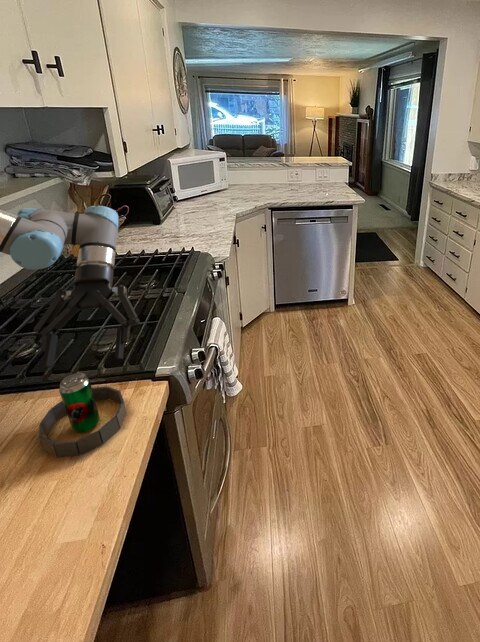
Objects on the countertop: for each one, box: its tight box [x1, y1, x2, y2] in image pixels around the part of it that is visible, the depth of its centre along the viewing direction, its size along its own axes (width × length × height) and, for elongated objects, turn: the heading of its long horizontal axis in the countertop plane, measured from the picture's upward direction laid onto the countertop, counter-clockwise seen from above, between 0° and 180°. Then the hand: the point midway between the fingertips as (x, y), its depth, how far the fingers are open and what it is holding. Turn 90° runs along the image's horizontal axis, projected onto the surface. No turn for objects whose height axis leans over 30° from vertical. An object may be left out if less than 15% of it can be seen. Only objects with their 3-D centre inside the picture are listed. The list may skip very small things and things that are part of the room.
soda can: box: [58, 372, 101, 434], centre depth 73 cm, size 5×5×12 cm
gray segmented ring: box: [38, 386, 128, 459], centre depth 75 cm, size 15×15×4 cm
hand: (83, 362), depth 76 cm, fingers open, 13 cm apart
